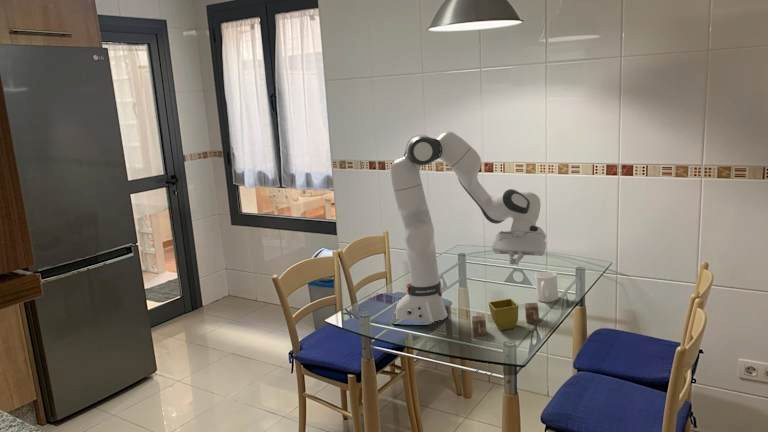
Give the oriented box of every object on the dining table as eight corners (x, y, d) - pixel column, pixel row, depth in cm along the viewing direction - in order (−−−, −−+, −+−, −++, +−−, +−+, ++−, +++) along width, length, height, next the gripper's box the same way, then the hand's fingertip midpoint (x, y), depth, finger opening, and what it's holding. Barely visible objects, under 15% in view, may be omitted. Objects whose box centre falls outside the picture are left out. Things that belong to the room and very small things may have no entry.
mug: (554, 306, 225) (552, 280, 223) (532, 305, 229) (530, 280, 227) (560, 296, 235) (558, 271, 233) (539, 295, 239) (537, 271, 237)
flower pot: (490, 324, 215) (487, 301, 213) (513, 321, 215) (511, 298, 214) (497, 333, 206) (494, 309, 205) (521, 329, 207) (518, 305, 205)
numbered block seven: (526, 323, 212) (525, 307, 211) (526, 318, 216) (524, 303, 215) (539, 322, 211) (538, 306, 210) (538, 317, 216) (537, 302, 214)
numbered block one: (473, 337, 206) (472, 321, 205) (474, 332, 210) (472, 316, 209) (486, 336, 205) (485, 320, 204) (486, 331, 209) (484, 315, 208)
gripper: (494, 227, 226) (485, 258, 220) (544, 227, 213) (536, 261, 207) (500, 235, 230) (491, 266, 224) (550, 236, 217) (542, 269, 212)
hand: (513, 263), depth 216 cm, fingers closed
